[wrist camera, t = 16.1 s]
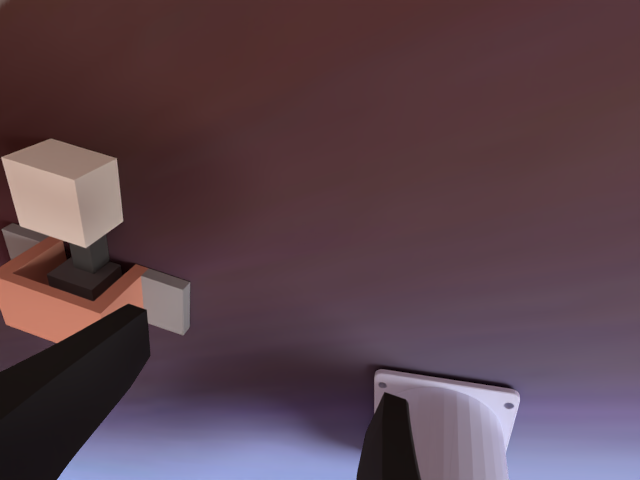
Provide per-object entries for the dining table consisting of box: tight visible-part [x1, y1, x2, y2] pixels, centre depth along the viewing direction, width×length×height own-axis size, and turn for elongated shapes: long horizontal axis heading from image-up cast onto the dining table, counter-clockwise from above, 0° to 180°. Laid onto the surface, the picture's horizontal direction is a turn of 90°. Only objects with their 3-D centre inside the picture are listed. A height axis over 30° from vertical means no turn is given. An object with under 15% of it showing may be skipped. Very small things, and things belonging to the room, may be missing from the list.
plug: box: [1, 139, 123, 301], centre depth 23 cm, size 10×4×3 cm, turn 169°
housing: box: [0, 223, 190, 343], centre depth 25 cm, size 4×13×4 cm, turn 79°
